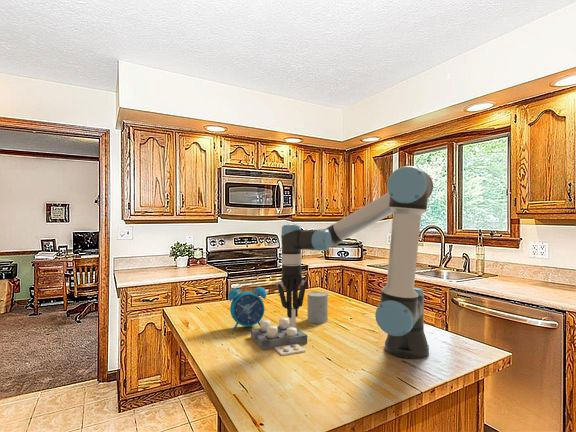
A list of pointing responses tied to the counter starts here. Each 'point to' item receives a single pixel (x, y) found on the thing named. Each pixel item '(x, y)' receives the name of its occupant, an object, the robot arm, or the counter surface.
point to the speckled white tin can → (317, 307)
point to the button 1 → (264, 325)
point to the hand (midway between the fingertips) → (292, 325)
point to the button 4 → (291, 331)
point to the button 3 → (284, 323)
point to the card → (289, 349)
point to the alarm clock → (247, 306)
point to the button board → (277, 338)
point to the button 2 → (272, 331)
